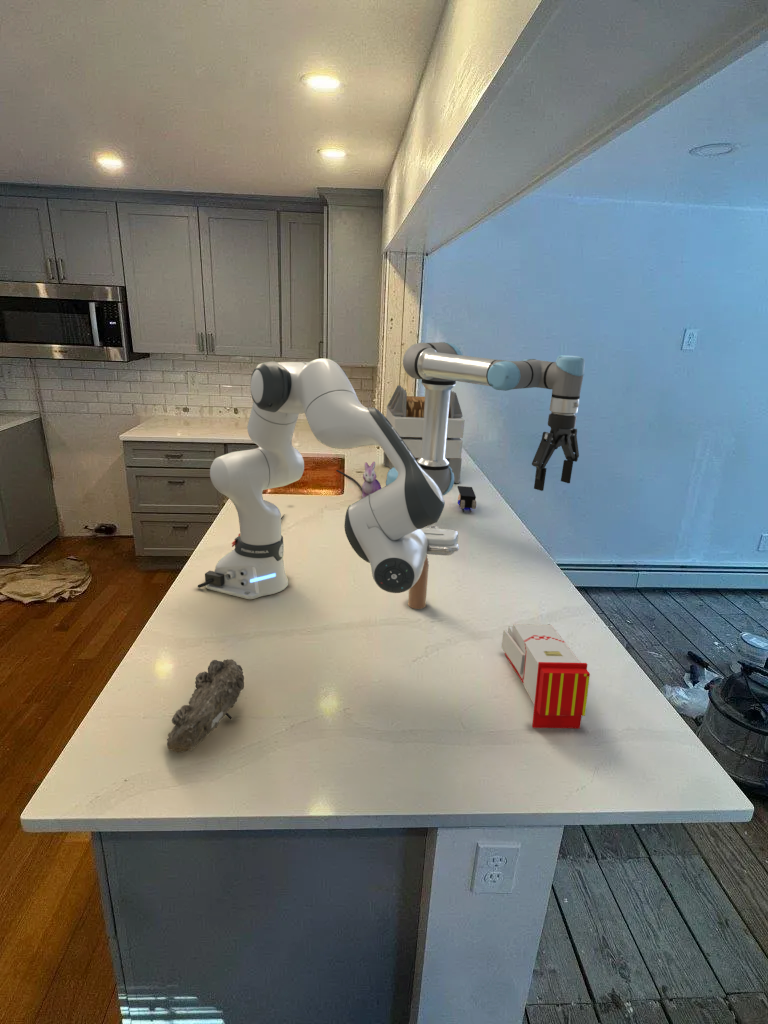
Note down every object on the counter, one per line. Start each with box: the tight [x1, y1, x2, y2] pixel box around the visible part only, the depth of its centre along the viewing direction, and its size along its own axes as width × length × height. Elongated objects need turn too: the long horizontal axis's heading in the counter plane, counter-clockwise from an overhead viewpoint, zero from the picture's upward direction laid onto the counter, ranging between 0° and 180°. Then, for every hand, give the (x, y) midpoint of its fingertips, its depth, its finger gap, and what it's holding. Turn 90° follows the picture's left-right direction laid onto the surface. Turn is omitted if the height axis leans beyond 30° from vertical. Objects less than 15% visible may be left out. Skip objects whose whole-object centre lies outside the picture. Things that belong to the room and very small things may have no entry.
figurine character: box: [457, 485, 477, 514], centre depth 227 cm, size 7×8×15 cm
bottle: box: [407, 554, 430, 610], centre depth 150 cm, size 5×5×18 cm
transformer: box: [383, 384, 465, 484], centre depth 268 cm, size 34×33×41 cm
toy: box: [501, 623, 591, 729], centre depth 120 cm, size 12×13×30 cm
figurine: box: [361, 461, 382, 499], centre depth 234 cm, size 9×10×15 cm
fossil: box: [166, 658, 245, 754], centre depth 106 cm, size 22×10×15 cm
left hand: (413, 528), depth 125 cm, fingers open, 8 cm apart
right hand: (552, 485), depth 166 cm, fingers open, 13 cm apart
